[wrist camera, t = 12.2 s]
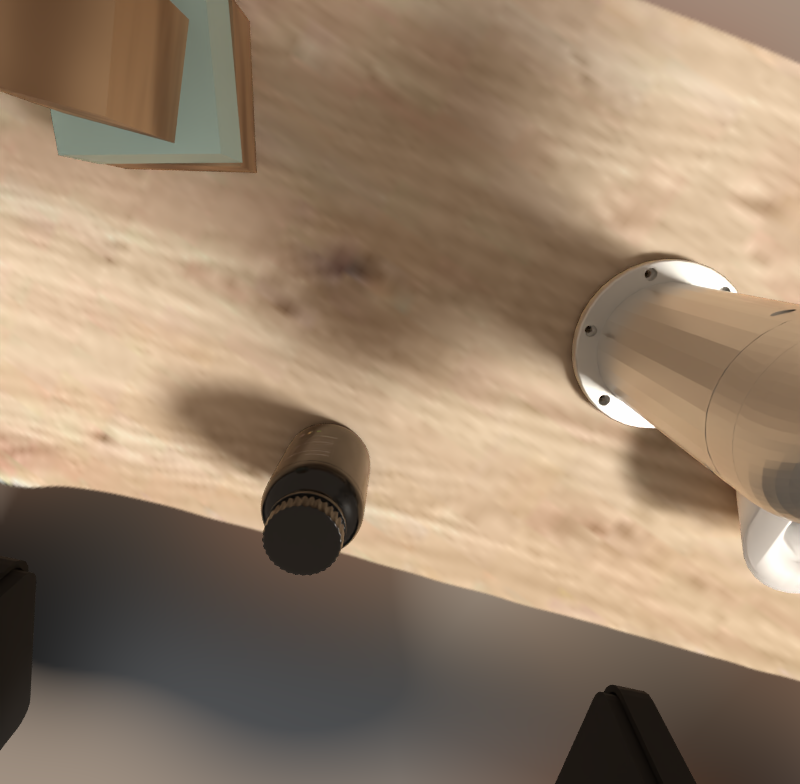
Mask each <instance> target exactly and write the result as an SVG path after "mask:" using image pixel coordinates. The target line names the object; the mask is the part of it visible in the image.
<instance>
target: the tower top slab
mask: <svg viewBox="0 0 800 784" xmlns="http://www.w3.org/2000/svg"><path fill="white" fill-rule="evenodd" d="M170 1H171V2H172V3H173V4H174V5H175V6H176V7H177V8H178V9H179V10H180V11H181V12H182V13H183V14H184V15H185V16H186V17H187V18H188V19H189V25H188V33H187V42H186V50H185V59H184V67H183V76H182V84H181V93H180V101H179V109H178V118H177V126H176V135H175V143H172V142H168V141H164V140H161V139H157V138H153V137H150V136H146V135H142V134H139V133H135V132H131V131H128V130H124V129H120V128H116V127H113V126H109V125H105V124H102V123H98V122H94V121H91V120H87V119H83V118H80V117H76V116H72V115H68V114H65V113H62V112H59V111H56V110H53V109H50V111H51V116H52V122H53V128H54V133H55V139H56V144H57V150H58V155H60V156H65V157H69V158H74V159H78V160H83V161H88V162H92V163H97V164H147V163H242V151H241V140H240V128H239V117H238V106H237V94H236V83H235V71H234V60H233V48H232V37H231V26H230V14H229V3H228V0H170Z"/></svg>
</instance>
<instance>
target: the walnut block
mask: <svg viewBox="0 0 800 784" xmlns="http://www.w3.org/2000/svg"><path fill="white" fill-rule="evenodd" d="M188 25H189V19H188V18H187V17H186V16H185V15H184V14H183V13H182V12H181V11H180V10H179V9H178V8H177V7H176V6H175V5H174V4H173V3H172V2H171V1H170V0H0V91H1V92H4V93H7V94H10V95H13V96H16V97H19V98H21V99H24V100H27V101H30V102H33V103H36V104H39V105H42V106H44V107H47V108H50V109H53V110H56V111H59V112H62V113H65V114H68V115H72V116H76V117H80V118H83V119H87V120H91V121H94V122H98V123H102V124H105V125H109V126H113V127H116V128H120V129H124V130H128V131H131V132H135V133H139V134H142V135H146V136H150V137H153V138H157V139H161V140H164V141H168V142H172V143H175V135H176V126H177V118H178V109H179V101H180V93H181V84H182V76H183V67H184V59H185V50H186V42H187V33H188Z"/></svg>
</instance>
